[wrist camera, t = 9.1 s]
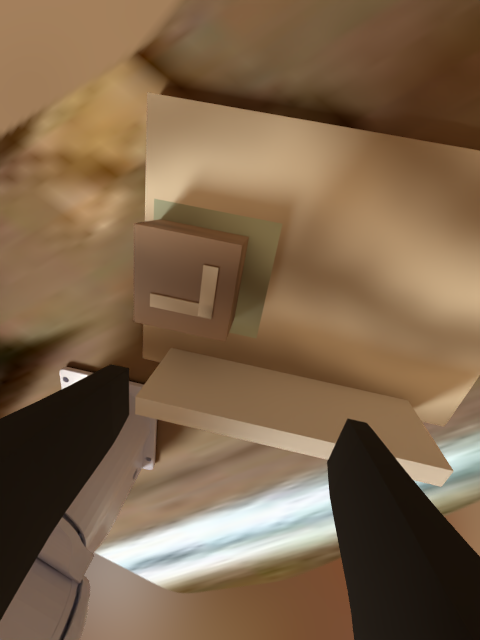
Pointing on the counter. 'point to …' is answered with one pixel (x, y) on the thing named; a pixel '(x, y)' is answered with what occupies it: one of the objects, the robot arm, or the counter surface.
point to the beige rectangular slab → (284, 410)
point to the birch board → (329, 247)
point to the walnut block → (187, 277)
